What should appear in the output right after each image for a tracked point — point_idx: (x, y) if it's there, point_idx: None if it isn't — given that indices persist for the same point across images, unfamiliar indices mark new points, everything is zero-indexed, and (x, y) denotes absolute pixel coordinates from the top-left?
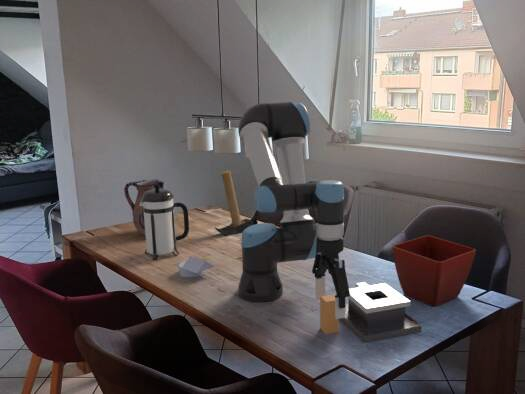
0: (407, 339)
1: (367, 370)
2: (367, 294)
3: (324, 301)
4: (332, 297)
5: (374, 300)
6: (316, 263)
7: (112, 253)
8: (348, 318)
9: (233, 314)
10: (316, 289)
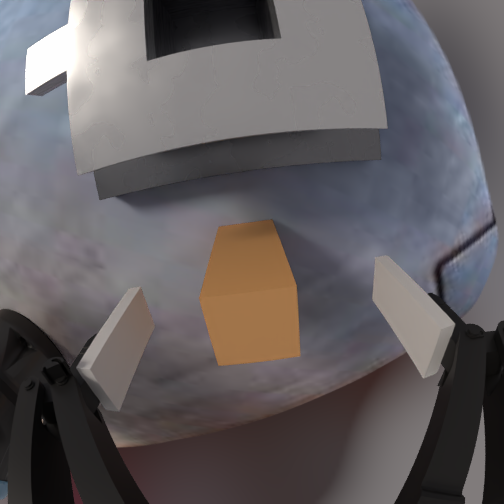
0: (371, 21)
1: (471, 216)
2: (150, 40)
3: (279, 354)
4: (250, 313)
5: (286, 29)
6: (70, 490)
7: None
8: (219, 165)
9: (137, 422)
10: (136, 364)
